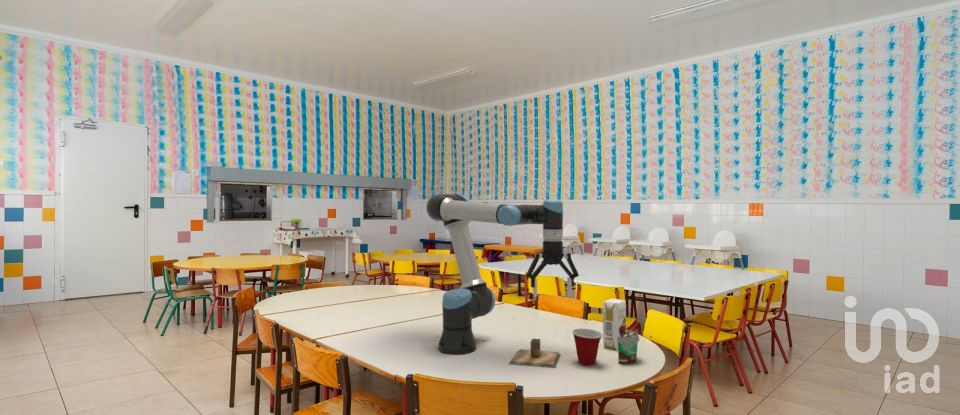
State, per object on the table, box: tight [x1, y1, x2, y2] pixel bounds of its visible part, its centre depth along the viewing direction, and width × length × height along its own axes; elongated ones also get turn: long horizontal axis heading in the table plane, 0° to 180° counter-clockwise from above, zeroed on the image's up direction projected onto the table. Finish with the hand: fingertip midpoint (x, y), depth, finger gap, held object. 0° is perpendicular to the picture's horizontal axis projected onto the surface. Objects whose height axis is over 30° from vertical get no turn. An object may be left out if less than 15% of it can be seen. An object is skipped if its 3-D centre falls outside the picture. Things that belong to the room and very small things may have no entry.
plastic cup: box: [572, 328, 603, 367], centre depth 183 cm, size 11×11×12 cm
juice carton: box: [602, 298, 627, 351], centre depth 204 cm, size 8×9×19 cm
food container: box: [617, 329, 640, 365], centre depth 186 cm, size 12×6×10 cm, turn 148°
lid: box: [511, 338, 559, 367], centre depth 188 cm, size 15×15×7 cm
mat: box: [508, 350, 562, 369], centre depth 188 cm, size 17×17×1 cm
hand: (552, 295), depth 193 cm, fingers open, 13 cm apart
